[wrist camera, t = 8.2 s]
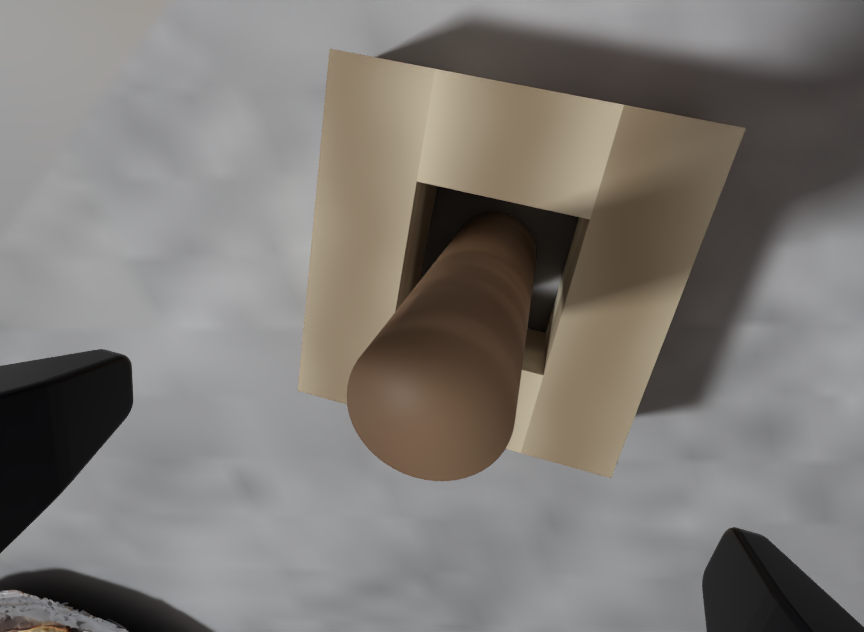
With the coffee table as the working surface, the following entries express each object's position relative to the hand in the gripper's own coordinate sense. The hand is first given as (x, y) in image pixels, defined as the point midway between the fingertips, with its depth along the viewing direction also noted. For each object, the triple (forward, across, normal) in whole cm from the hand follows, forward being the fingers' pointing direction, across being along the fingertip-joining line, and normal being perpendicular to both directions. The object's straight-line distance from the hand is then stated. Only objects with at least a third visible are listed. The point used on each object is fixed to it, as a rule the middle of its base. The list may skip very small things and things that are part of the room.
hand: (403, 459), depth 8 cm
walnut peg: (+13, 0, 0) cm, 13 cm away
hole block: (+13, 0, 0) cm, 13 cm away
